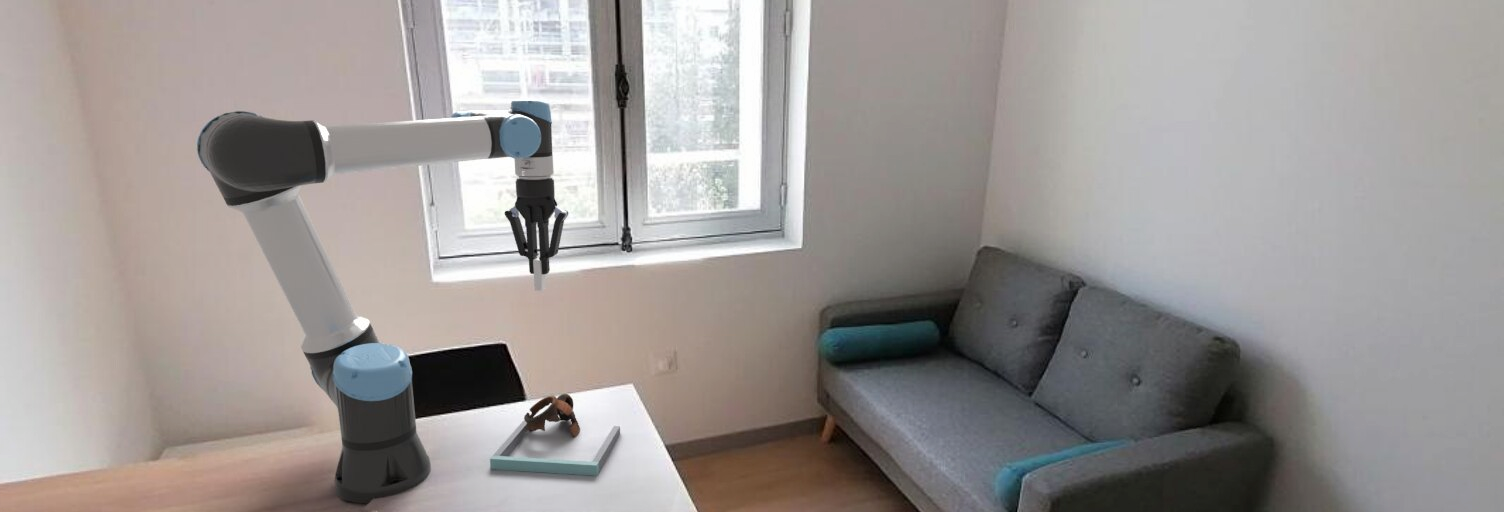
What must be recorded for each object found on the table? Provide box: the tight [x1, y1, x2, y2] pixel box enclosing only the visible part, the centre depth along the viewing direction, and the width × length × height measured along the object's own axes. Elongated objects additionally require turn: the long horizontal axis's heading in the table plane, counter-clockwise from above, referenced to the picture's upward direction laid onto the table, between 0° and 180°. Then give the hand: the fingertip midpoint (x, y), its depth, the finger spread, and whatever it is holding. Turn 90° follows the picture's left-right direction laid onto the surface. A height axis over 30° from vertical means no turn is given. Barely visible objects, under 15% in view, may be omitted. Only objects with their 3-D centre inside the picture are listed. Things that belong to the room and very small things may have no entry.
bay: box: [489, 420, 621, 477], centre depth 146 cm, size 19×16×2 cm
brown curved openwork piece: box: [523, 393, 581, 438], centre depth 153 cm, size 12×9×8 cm
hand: (540, 288), depth 164 cm, fingers closed
